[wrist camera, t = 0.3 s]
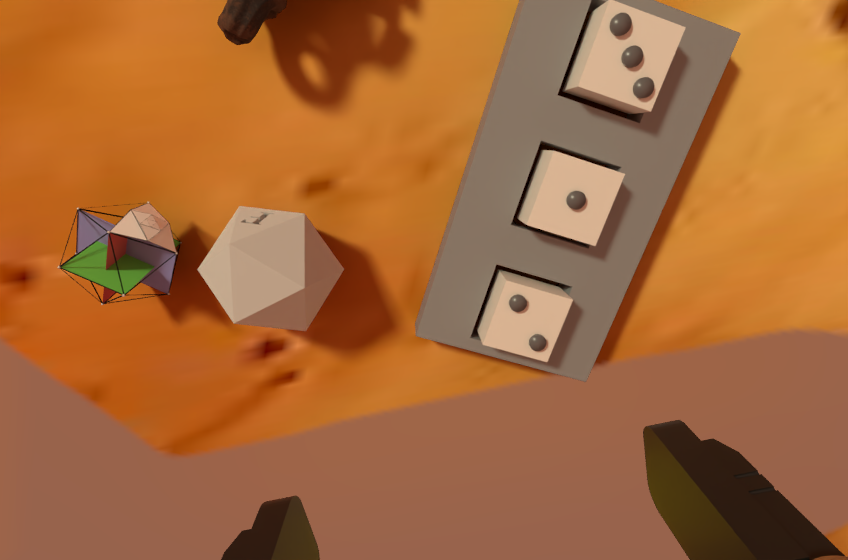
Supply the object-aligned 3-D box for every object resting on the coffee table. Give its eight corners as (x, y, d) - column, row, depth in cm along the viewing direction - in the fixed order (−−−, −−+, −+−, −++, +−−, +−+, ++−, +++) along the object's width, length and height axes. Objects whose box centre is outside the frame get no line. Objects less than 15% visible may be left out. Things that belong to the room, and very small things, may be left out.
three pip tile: (590, 12, 31) (612, -3, 27) (660, 37, 31) (688, 26, 28) (562, 91, 32) (579, 85, 29) (629, 114, 32) (653, 111, 29)
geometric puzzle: (156, 331, 35) (128, 306, 28) (64, 292, 34) (11, 255, 27) (206, 252, 38) (192, 210, 31) (123, 214, 37) (89, 161, 30)
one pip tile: (541, 149, 33) (555, 150, 30) (606, 171, 33) (627, 174, 30) (516, 218, 34) (527, 225, 31) (579, 237, 35) (596, 247, 32)
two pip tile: (498, 269, 35) (507, 281, 32) (559, 287, 36) (574, 301, 33) (476, 328, 37) (483, 346, 33) (536, 345, 37) (548, 364, 34)
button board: (528, -29, 31) (539, -43, 29) (716, 41, 33) (740, 33, 30) (415, 323, 38) (415, 335, 35) (575, 367, 39) (586, 381, 37)
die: (368, 243, 37) (309, 184, 28) (338, 352, 35) (265, 326, 26) (278, 232, 39) (198, 173, 30) (245, 333, 37) (149, 302, 28)
